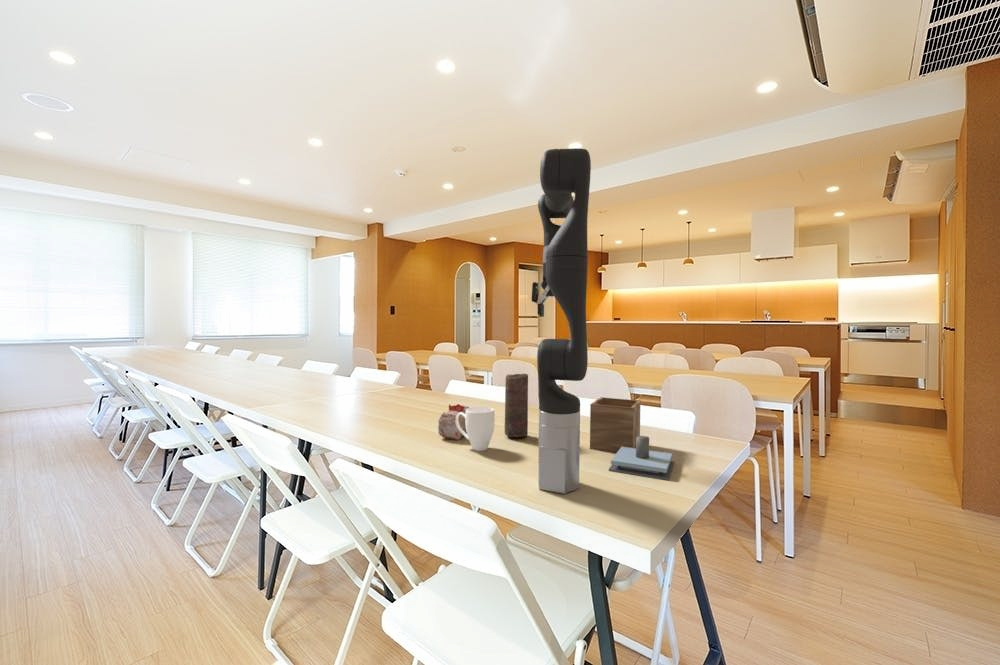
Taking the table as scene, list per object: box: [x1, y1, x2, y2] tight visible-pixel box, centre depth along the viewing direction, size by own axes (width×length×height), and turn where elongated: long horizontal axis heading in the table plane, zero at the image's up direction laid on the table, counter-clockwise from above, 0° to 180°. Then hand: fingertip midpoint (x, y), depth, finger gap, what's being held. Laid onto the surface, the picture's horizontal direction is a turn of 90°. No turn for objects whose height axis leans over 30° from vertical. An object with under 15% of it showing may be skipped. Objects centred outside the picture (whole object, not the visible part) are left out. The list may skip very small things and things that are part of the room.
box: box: [589, 396, 641, 453], centre depth 129 cm, size 12×12×13 cm
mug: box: [455, 406, 496, 452], centre depth 127 cm, size 12×8×11 cm
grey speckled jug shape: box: [437, 403, 471, 441], centre depth 141 cm, size 14×8×10 cm, turn 166°
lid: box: [610, 435, 673, 474], centre depth 112 cm, size 13×13×7 cm
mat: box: [608, 460, 675, 481], centre depth 112 cm, size 14×14×1 cm
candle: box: [504, 373, 529, 438], centre depth 138 cm, size 8×7×20 cm
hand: (555, 316), depth 130 cm, fingers open, 8 cm apart
